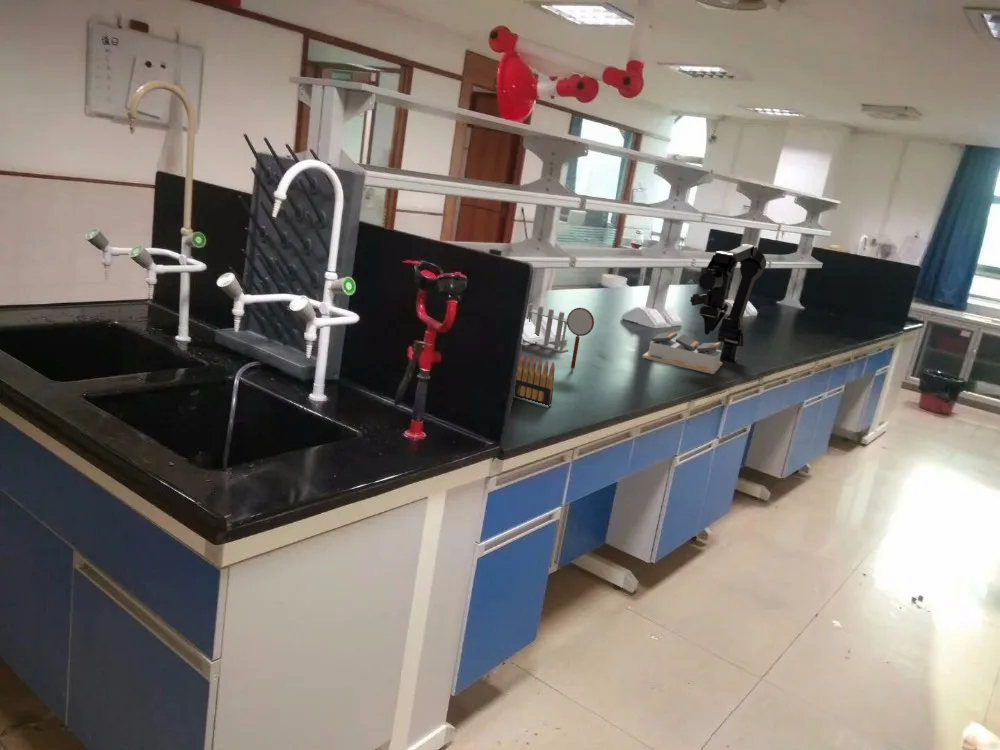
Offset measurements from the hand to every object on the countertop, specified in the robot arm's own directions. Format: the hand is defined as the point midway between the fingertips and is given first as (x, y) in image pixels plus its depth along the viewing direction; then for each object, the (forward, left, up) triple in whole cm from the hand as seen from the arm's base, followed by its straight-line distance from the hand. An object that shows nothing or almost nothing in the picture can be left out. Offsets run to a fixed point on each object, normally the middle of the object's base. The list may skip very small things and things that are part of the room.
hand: (709, 332), depth 261 cm
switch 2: (0, +1, -5) cm, 6 cm away
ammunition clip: (+90, -28, -12) cm, 95 cm away
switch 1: (0, -15, -5) cm, 16 cm away
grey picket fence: (+25, -54, -12) cm, 61 cm away
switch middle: (0, -7, -5) cm, 9 cm away
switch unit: (+1, -7, -12) cm, 14 cm away
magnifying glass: (+50, -31, -12) cm, 60 cm away
